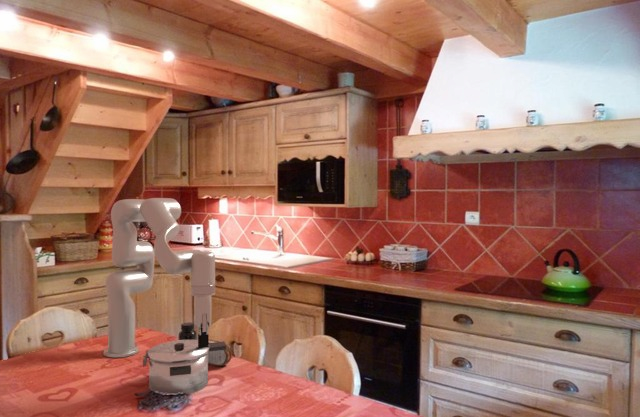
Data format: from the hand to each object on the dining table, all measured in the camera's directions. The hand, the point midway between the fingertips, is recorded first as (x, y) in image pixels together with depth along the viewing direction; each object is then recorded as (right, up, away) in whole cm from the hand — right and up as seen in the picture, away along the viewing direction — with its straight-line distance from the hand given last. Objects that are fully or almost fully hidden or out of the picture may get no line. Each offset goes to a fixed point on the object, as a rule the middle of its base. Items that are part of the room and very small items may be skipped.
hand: (203, 346), depth 150 cm
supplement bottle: (-13, -11, +26) cm, 31 cm away
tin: (-1, -12, +17) cm, 21 cm away
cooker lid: (-5, -1, -1) cm, 5 cm away
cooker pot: (-7, -12, -2) cm, 14 cm away
